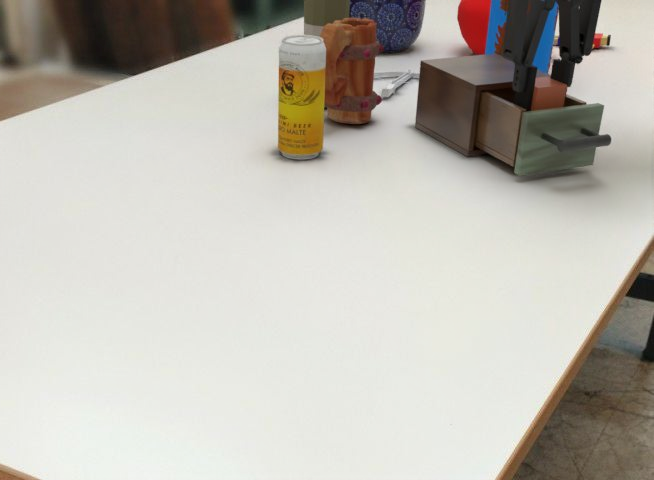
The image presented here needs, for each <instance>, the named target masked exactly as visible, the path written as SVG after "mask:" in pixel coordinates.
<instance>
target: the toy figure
mask: <svg viewBox="0 0 654 480" xmlns="http://www.w3.org/2000/svg"><path fill="white" fill-rule="evenodd" d="M611 37H612V34H608V35H604V33H599V32H598V33H596V32H595V37H594V42H593V47H592V50H593V49H595V48H600V47H601V46H607V47H609V46H610V45H611V40H612V39H611ZM554 44H556V46H559V34H558V35H557V34H555V36H554V42H553V45H554Z"/></svg>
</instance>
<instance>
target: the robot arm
mask: <svg viewBox="0 0 654 480" xmlns="http://www.w3.org/2000/svg"><path fill="white" fill-rule="evenodd" d="M555 2H557V4H558V6H559V12H558V35H559V45H558V46H559V49H558V52H559V58H555V59H552V66H551V73H550V75H551V79H554V80H556V81H559V82H561V83H564V84H566V85H567V89H566V94H567V92H568V88H571V86H572V83H573V78H574V75H575V69H576V64H577V65H579V64H582V62H583V60H584V57H588V56H590V55H591V53H592V51H593V49H592V47H593V42H594V37H595V33H596V31H597V27H598V21H599V16H600V10H601V4H602V0H544V1H542V0H509V1H508V9H507V18H506V26H505V34H504V43H503V51H502V56H503V58H505V59H507V60H510V61H512V62H514V64H515V69H514V76H513V83H512V88H513V90H515V91H516V93H515V100H514V104H515V105H517V106H519V107H522V108H524V109H526V112H527V111H531V105H532V99H533V92H534V87H535V80H536V74H537V67H536V66H533V65H532V63H533V60H534V57H535V54H536V51H537V48H538V45H539V42H540V39H541V36H542V33H543V30H544V27H545V24H546V21H547V18H548V15H549V12H550V10H552V9H553V8H554V5H555ZM528 4H530V8H529V11H528ZM527 12H528V14H527ZM560 58H561V59H560ZM566 94H565V99H566ZM564 104H565V100H564ZM563 107H564V106H563Z"/></svg>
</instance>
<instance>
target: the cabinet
mask: <svg viewBox="0 0 654 480" xmlns="http://www.w3.org/2000/svg"><path fill="white" fill-rule="evenodd" d="M419 62H420V63H419V78H418V85H417V97H416V98H417V99H416V109H415V122H414V128H416V129H418V130H419V131H421V132H423V133H425V134H426V135H428V136H430V137H432V138H433V139H436V140H437V141H439V142H440V143H442V144H444V145H446V146H448V147H450V148H451V149H452V150H454V151H456V152H458V153H460V154H462V155H464V156H465V157H467V158H469V157H470V158H471V157H478V156H485V155H490V154H489V153H487V152H485V151H483V150H481V149H480V148H478V147H476V146H474V139H475V130H476V122H477V114H478V105H479V97H480V91H483V90H493V89H502V88H511V87H512V83H513V76H514V69H515V64H514V62H512V61H510V60H507V59H505V58H503V56H501V55H498V54H496V53H495V54H485V55H476V54H474V55H464V56H455V57H443V58H433V59H432V58H431V59H421V60H420V61H419ZM537 77H549V78H551V73H550V74H549V73H548V74H547V73H545V72H542V71H539V70H537V74H536V78H537Z"/></svg>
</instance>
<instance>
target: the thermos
mask: <svg viewBox="0 0 654 480" xmlns="http://www.w3.org/2000/svg"><path fill="white" fill-rule="evenodd" d="M508 1H509V0H491V7H490V16H489V24H488V32H487V41H486V49H485V54H495V53H496V54H498V55H501V56H502V51H503V43H504V34H505V26H506V18H507V9H508ZM542 1H544V0H542ZM529 8H530V4H528V11H529ZM558 10H559V6H558V4H557V2H555V5H554V8H553V9H552V10H550V12H549V15H548V18H547V21H546V24H545V27H544V30H543V33H542V36H541V39H540V42H539V45H538V48H537V51H536V54H535V57H534V60H533V63H532V65H533V66H536V67H537V70H539V71H542V72H545V73H547V74H549V72H550V66H551V62H552V61H551V60H552V54H553V49H554V44H553V42H554V36H555V35H556V29H557V24H558V23H557V22H558V18H559V12H558ZM527 14H528V12H527ZM557 17H558V18H557Z"/></svg>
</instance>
